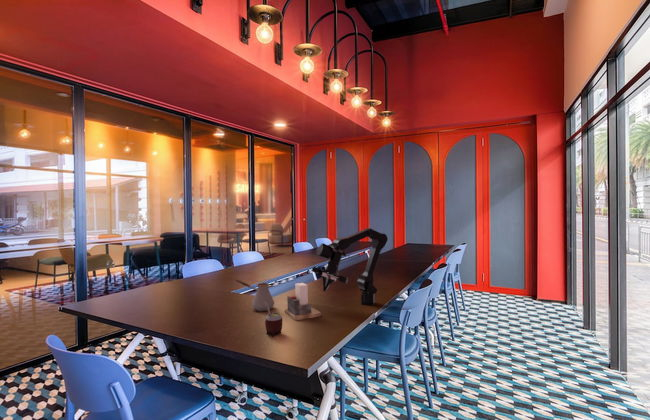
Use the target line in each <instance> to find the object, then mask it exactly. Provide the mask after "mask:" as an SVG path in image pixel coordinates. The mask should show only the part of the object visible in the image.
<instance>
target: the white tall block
mask: <svg viewBox="0 0 650 420" xmlns="http://www.w3.org/2000/svg"><path fill="white" fill-rule="evenodd" d="M294 285H295V287H294V290H295V292H294V293H295V296H296V298H297V299H298V300H299V306H300V305H307V304H309V301H308V300H309V299H308V297H309V294H308V292H309V291H308V290H309V289H308V287H309V286H308V284H306V283H304V282H299V283H298V282H297V283H294Z"/></svg>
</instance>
